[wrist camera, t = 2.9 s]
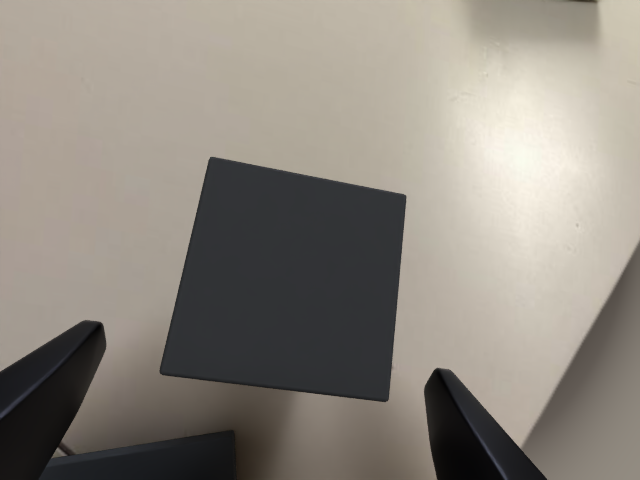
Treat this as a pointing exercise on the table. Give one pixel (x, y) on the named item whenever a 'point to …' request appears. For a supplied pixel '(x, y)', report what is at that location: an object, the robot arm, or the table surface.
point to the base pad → (153, 461)
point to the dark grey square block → (289, 284)
